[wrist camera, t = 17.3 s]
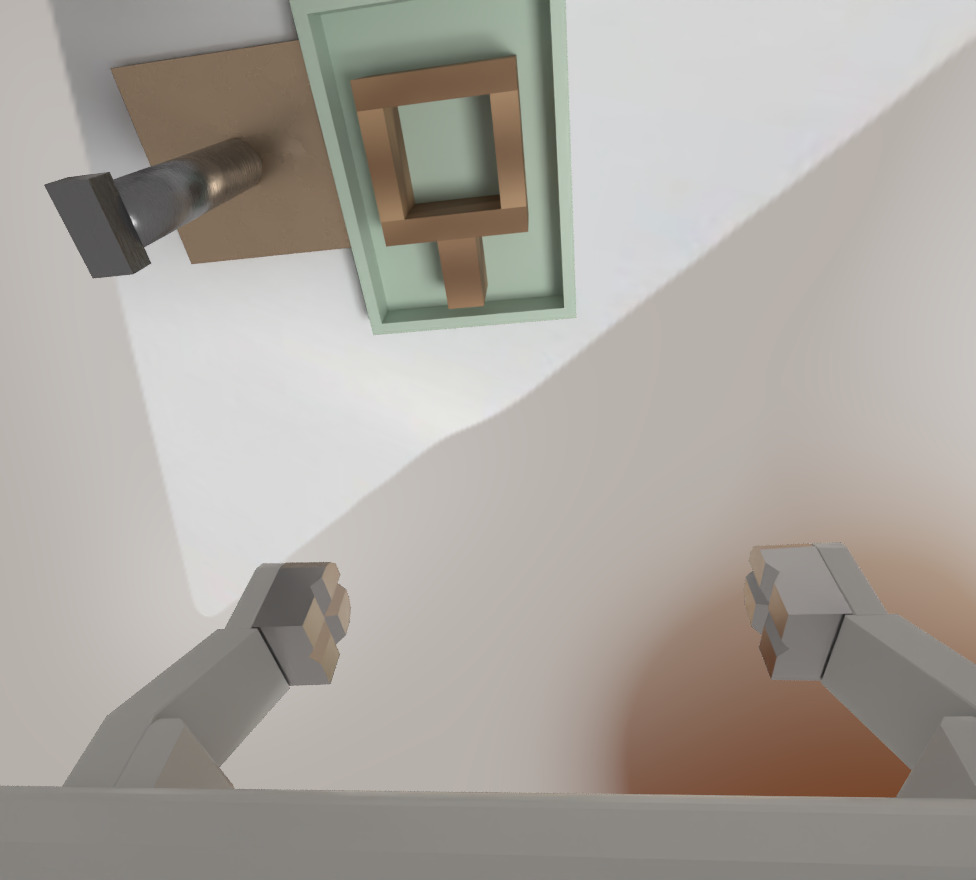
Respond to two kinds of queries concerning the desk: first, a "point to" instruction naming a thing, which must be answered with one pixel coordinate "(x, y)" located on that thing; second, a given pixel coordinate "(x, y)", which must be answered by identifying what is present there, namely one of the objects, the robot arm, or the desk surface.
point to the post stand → (212, 165)
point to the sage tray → (449, 150)
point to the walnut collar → (450, 219)
